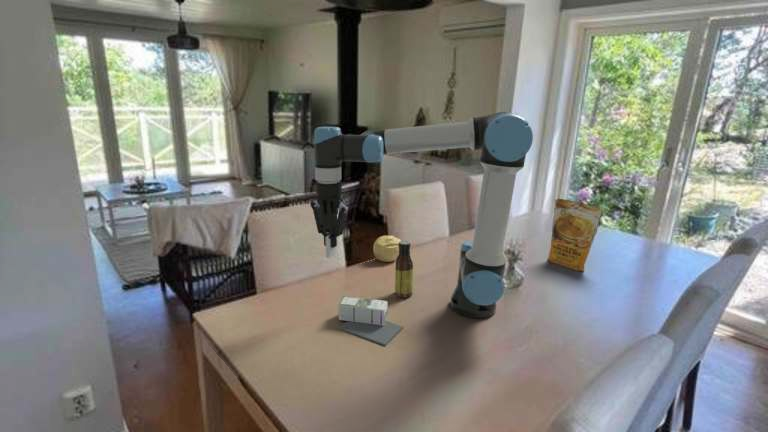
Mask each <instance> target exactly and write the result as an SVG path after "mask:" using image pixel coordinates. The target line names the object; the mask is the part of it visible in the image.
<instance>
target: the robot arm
mask: <svg viewBox="0 0 768 432" xmlns="http://www.w3.org/2000/svg"><path fill="white" fill-rule="evenodd" d="M313 133H314V137H313V138H314V139H313V145H314V148H313V149H314V165H315V166H314V170H315V171H314V177H315V180H316V182H315V194H316V195H317V196H316V199H315V200H314V201H311V202H310V203H309V205H310V207H311V209H312V212H313V214H314V220H315V224H316V229H317V232H318V234H321V235H322V236H323V245H324V246H325V258H328V259H332V258H333V257H335V256H336V247H337V246H338V237H340V236H342V235H343V231H344V228H345V224H346V223H345V222H346V219H347V218H346V217H347V214H348V212H349V210H350V206H349V205H345V204H344V203H343V199H342V192H343V191H342V190H343V189H342V188H343V187H342V184H343V182H342V162H353V163H354V162H358V163H369V164H371V163H380V162H381V161H382V160H383V157H384V155H389V154H390V155H391V154H392V155H393V154H405V153H414V152H415V153H416V152H426V151H428V152H429V151H438V150H440V151H441V150H452V149H463V148H465V149H466V148H469V149H471V150H472V151H477V150H478V151H479V150H480V158H479V163H480V164H481V166H482V167H483V169H484V170H483V175H482V183H481V188H480V195H479V199H478V200H479V201H478V207H477V214H476V221H475V224H474V226H475V227H474V232H473V239H472V240H469V241H465V242H463V243H462V244H461V247H460V250H459V252H460V253H459V265H458V266H459V267H458V274H457V284H456V285H455V288H454V289H453V290H454V291H452V295H451V296H450V305H449V306H450V308H451V309H452V310H453V311H454V312H455V313H457V314H458V315H461V316H463V317H467V318H472V319H486V318H487V319H488V318H489V317H492V316H494V314H495V313H496V310H497V309H496V308H497V302H498V301H499V300H501V298H502V297H503V295H504V294H505V287H506V285H505V280H504V276H505V275H504V274H505V269H506V264H507V259H506V257H505V256H504V254H503V249H504V243H505V238H506V235H507V234H506V233H507V228H508V222H509V218H510V217H509V216H510V210H511V206H512V201H513V200H512V199H513V194H514V188H515V182H516V177H517V174H518V172H520V171H521V170H522V169H523V168H525V167H524V166H525V162H526V155H527V154H528V152H529V151H530V149H531V147H532V145H533V141H534V134H533V129H532V127H531V125H530V123H529V122H528V121H527V120H526V119H525V118H524V117H523V116H521V115H519V114H518V113H512V112H507V111H499V112H496V113H490V114H488V115H481V116H477V117H471V118H470V119H469V120H468V121H460V122H449V123H441V124H439V123H437V124H432V125H431V124H430V125H418V126H409V127H399V128H390V129H379V130H374V129H369V130H365V131H364V132H362V133H361V134H343V133H342V131H341V128H340V127H338V126H318V127H316V128H315V129H314V132H313Z"/></svg>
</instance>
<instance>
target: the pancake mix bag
mask: <svg viewBox="0 0 768 432" xmlns="http://www.w3.org/2000/svg"><path fill="white" fill-rule="evenodd" d="M600 208H601V207H600V206H598V205H592V204H588V203H583V202H579V201H574V200H569V199H563V198H556V199H555V200H554V209H553V220H552V228H551V239H550V250H549V253H548V256H547V260H548V261H550V263H552V264H555V265H558V266H561V267H563V268H567V269H570V270H571V271H572V270H573V271H576V272H585V264H586V261H587V260H588V257H589V254H590V250H591V249H592V247H593V244H594V240H595V236H596V235H597V231H598V228H599V226H600V225H599V224H600V221H601V219H602V216H603V209H600Z"/></svg>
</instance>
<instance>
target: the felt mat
mask: <svg viewBox="0 0 768 432" xmlns="http://www.w3.org/2000/svg"><path fill="white" fill-rule="evenodd" d="M338 329H339V330H341V331H345V332H347V333H349V334H351V335H355V336H358V337H359V338H363V339H365V340H368V341H370V342H373V343H375V344H379V345H382V346H384V347H386V346H387V345H388V344H389V343H390V342H391V341H392V340H393V339H394V338H395V337H396V336H397V335H398V334H399V333H400V332H401V331H402V330H403V329H404V326H403V325H400V324H397V323H393V322H390V321H387V320H385V323H384V325H383V326H382V325H375V324H367V323H359V322H352V321H345V322H344V323H343V324H342V325H341V326H340V327H339V328H338Z"/></svg>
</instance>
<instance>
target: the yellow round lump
mask: <svg viewBox="0 0 768 432" xmlns="http://www.w3.org/2000/svg"><path fill="white" fill-rule="evenodd" d="M400 241H402V240H401V239H400V238H398V237H396V236H394V235H381V236H379V237H377V239H376V240H374V243H373V246H372V248H373V249H372V251H373V254H374V257H375V259H377V260H379V261H380V262H385V263H390V262H393V261H396V258H397V257H398V255H399V242H400Z"/></svg>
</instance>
